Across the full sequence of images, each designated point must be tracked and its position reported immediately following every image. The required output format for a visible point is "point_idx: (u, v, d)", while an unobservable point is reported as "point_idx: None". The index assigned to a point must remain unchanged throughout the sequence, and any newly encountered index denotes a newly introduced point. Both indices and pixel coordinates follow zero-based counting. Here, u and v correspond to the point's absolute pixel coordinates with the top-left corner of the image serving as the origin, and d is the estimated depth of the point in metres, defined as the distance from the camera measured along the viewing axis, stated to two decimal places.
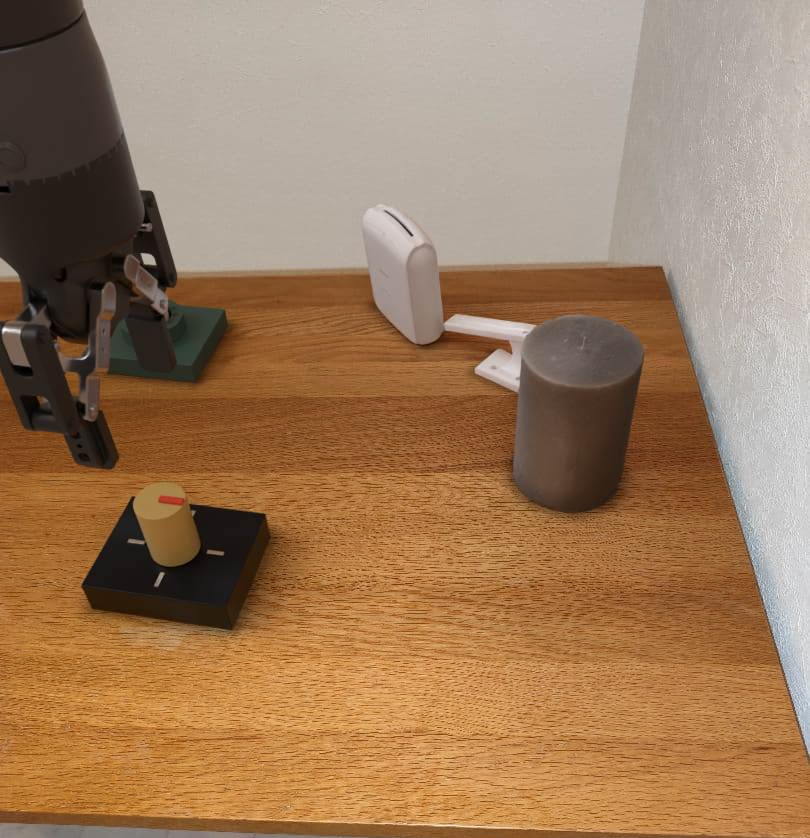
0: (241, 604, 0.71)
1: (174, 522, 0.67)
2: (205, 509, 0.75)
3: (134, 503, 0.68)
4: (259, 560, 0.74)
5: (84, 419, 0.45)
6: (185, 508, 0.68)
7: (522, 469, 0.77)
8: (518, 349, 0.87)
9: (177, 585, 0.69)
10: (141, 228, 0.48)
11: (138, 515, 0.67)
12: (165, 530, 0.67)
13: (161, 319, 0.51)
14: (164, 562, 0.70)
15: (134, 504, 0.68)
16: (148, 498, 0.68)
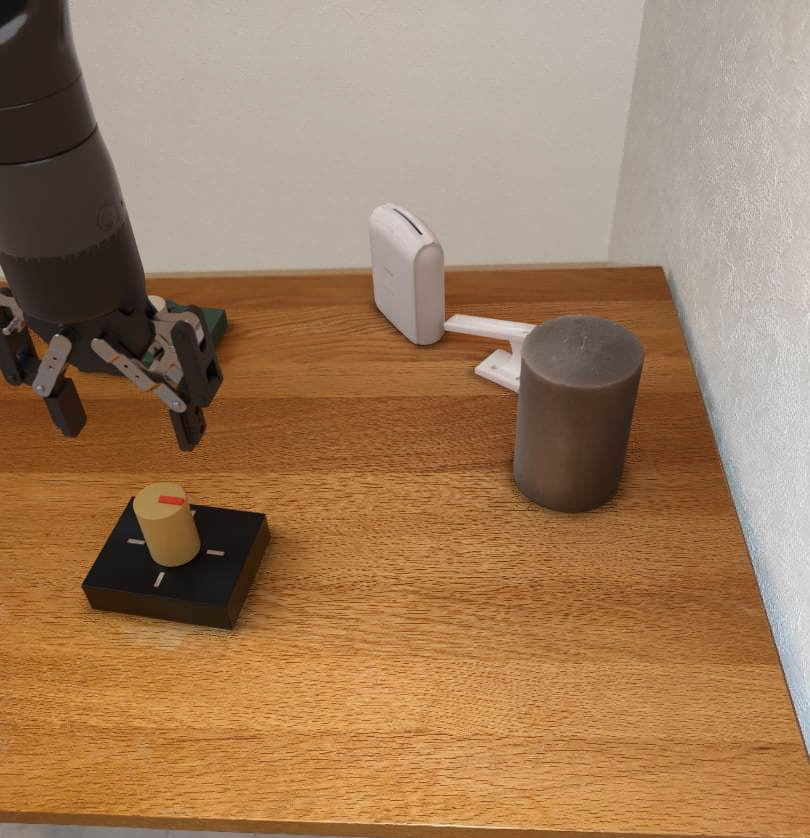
0: (241, 604, 0.71)
1: (174, 522, 0.67)
2: (205, 509, 0.75)
3: (134, 503, 0.68)
4: (259, 560, 0.74)
5: None
6: (185, 508, 0.68)
7: (522, 469, 0.77)
8: (518, 349, 0.87)
9: (177, 585, 0.69)
10: (170, 344, 0.53)
11: (138, 515, 0.67)
12: (165, 530, 0.67)
13: (173, 411, 0.57)
14: (164, 562, 0.70)
15: (134, 504, 0.68)
16: (148, 498, 0.68)
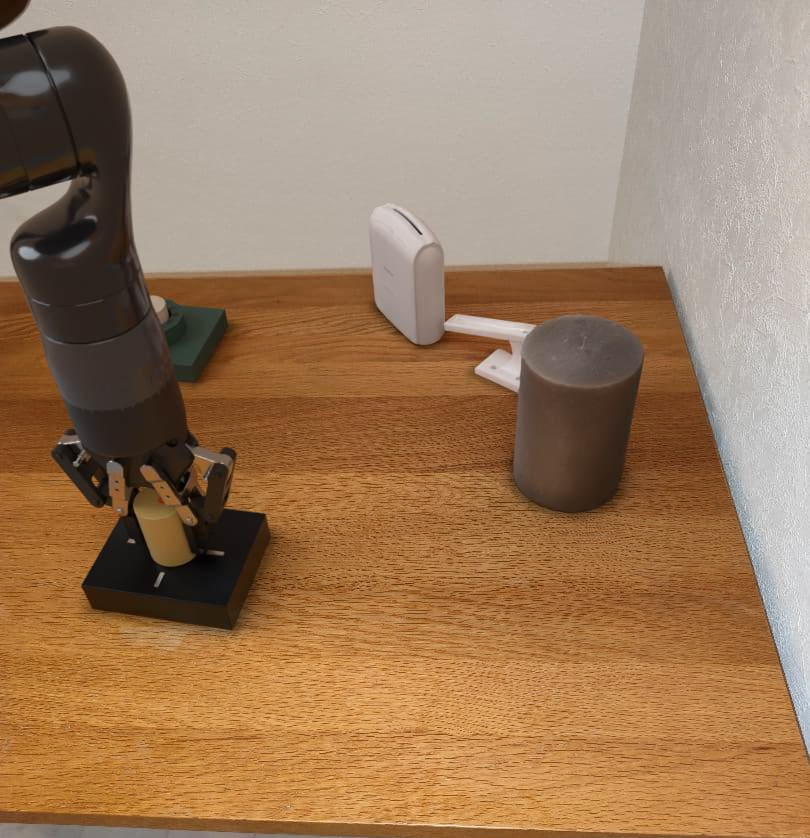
0: (241, 604, 0.71)
1: (174, 522, 0.67)
2: None
3: (134, 503, 0.68)
4: (259, 560, 0.74)
5: None
6: None
7: (522, 469, 0.77)
8: (518, 349, 0.87)
9: (177, 585, 0.69)
10: (203, 475, 0.63)
11: (138, 515, 0.67)
12: (165, 530, 0.67)
13: (186, 524, 0.68)
14: (164, 562, 0.70)
15: (134, 504, 0.68)
16: (148, 498, 0.68)
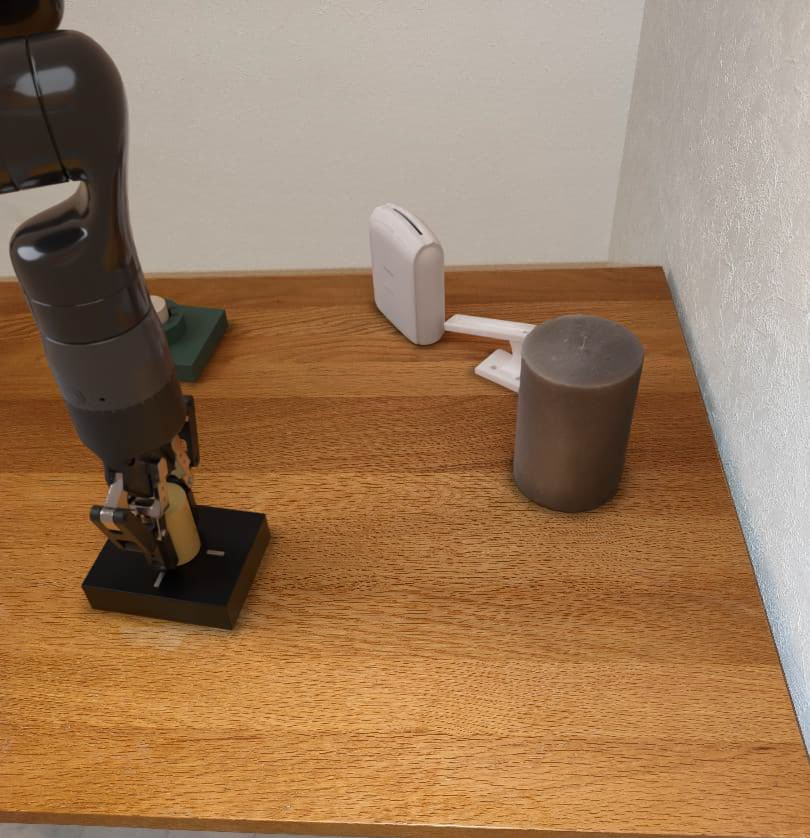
0: (241, 604, 0.71)
1: None
2: (205, 509, 0.75)
3: None
4: (259, 560, 0.74)
5: None
6: None
7: (522, 469, 0.77)
8: (518, 349, 0.87)
9: (177, 585, 0.69)
10: None
11: None
12: None
13: None
14: None
15: None
16: None
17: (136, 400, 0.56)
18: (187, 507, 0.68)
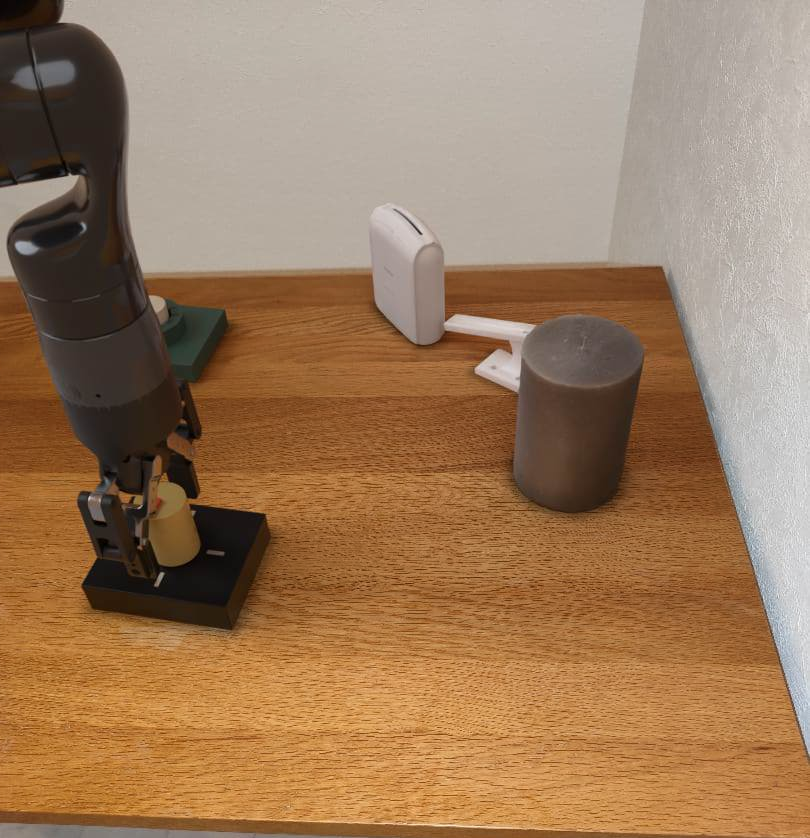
0: (241, 604, 0.71)
1: None
2: (205, 509, 0.75)
3: (161, 482, 0.69)
4: (259, 560, 0.74)
5: None
6: (149, 524, 0.67)
7: (522, 469, 0.77)
8: (518, 349, 0.87)
9: (177, 585, 0.69)
10: None
11: None
12: None
13: None
14: None
15: (160, 483, 0.69)
16: (165, 492, 0.68)
17: (132, 397, 0.56)
18: (187, 507, 0.68)
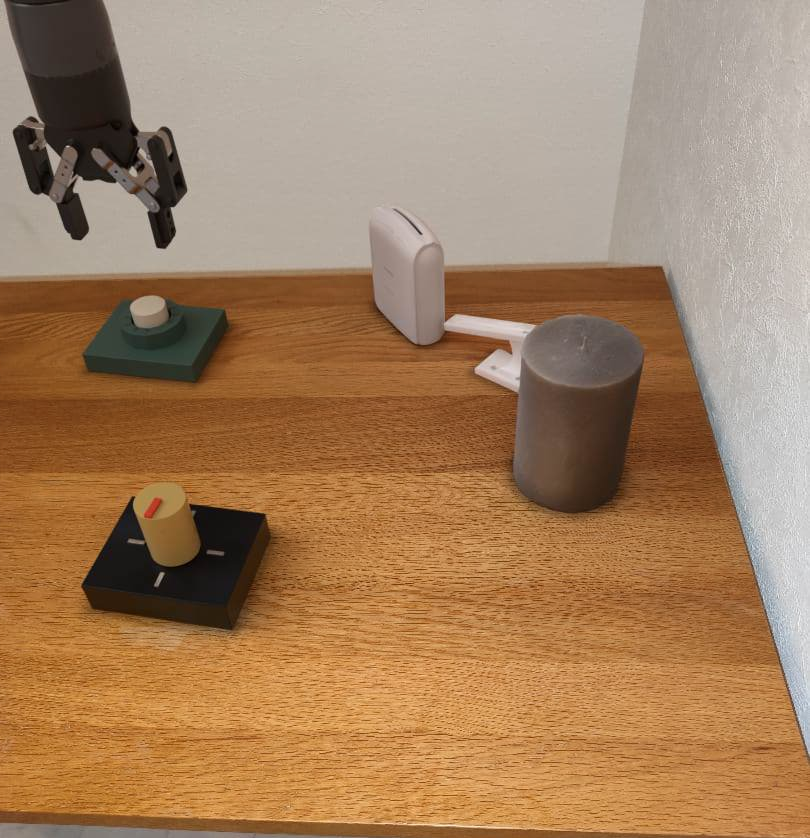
0: (241, 604, 0.71)
1: None
2: (205, 509, 0.75)
3: (161, 482, 0.69)
4: (259, 560, 0.74)
5: None
6: (149, 524, 0.67)
7: (522, 469, 0.77)
8: (518, 349, 0.87)
9: (177, 585, 0.69)
10: None
11: (145, 488, 0.69)
12: None
13: (150, 212, 0.79)
14: None
15: (160, 483, 0.69)
16: (165, 492, 0.68)
17: None
18: (187, 507, 0.68)
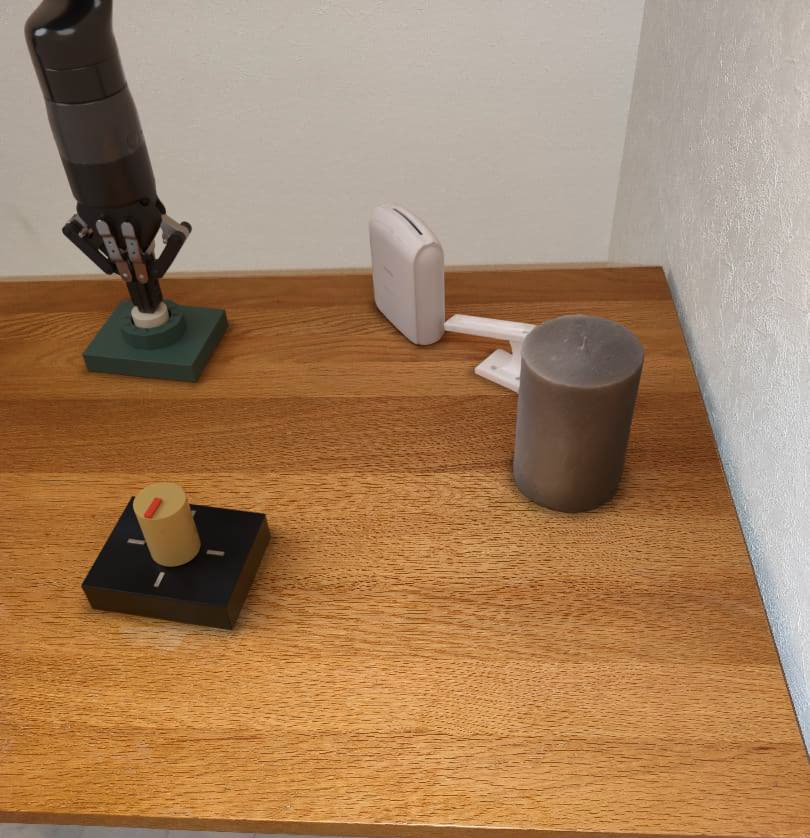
0: (241, 604, 0.71)
1: None
2: (205, 509, 0.75)
3: (161, 482, 0.69)
4: (259, 560, 0.74)
5: None
6: (149, 524, 0.67)
7: (522, 469, 0.77)
8: (518, 349, 0.87)
9: (177, 585, 0.69)
10: (164, 237, 0.84)
11: (145, 488, 0.69)
12: None
13: (139, 283, 0.88)
14: None
15: (160, 483, 0.69)
16: (165, 492, 0.68)
17: None
18: (187, 507, 0.68)
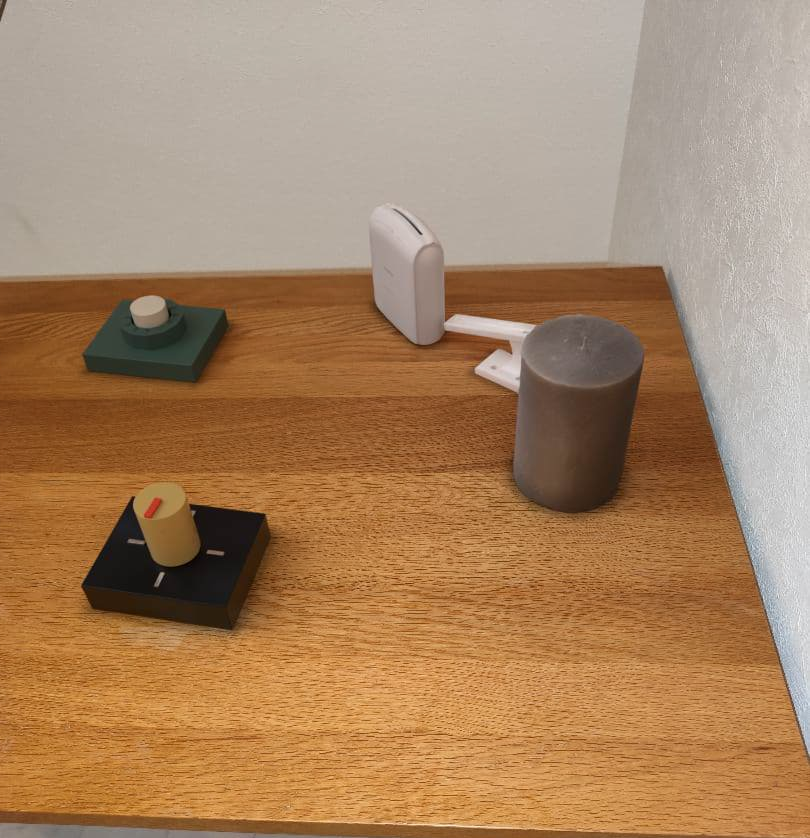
0: (241, 604, 0.71)
1: None
2: (205, 509, 0.75)
3: (161, 482, 0.69)
4: (259, 560, 0.74)
5: None
6: (149, 524, 0.67)
7: (522, 469, 0.77)
8: (518, 349, 0.87)
9: (177, 585, 0.69)
10: None
11: (145, 488, 0.69)
12: None
13: None
14: None
15: (160, 483, 0.69)
16: (165, 492, 0.68)
17: None
18: (187, 507, 0.68)
